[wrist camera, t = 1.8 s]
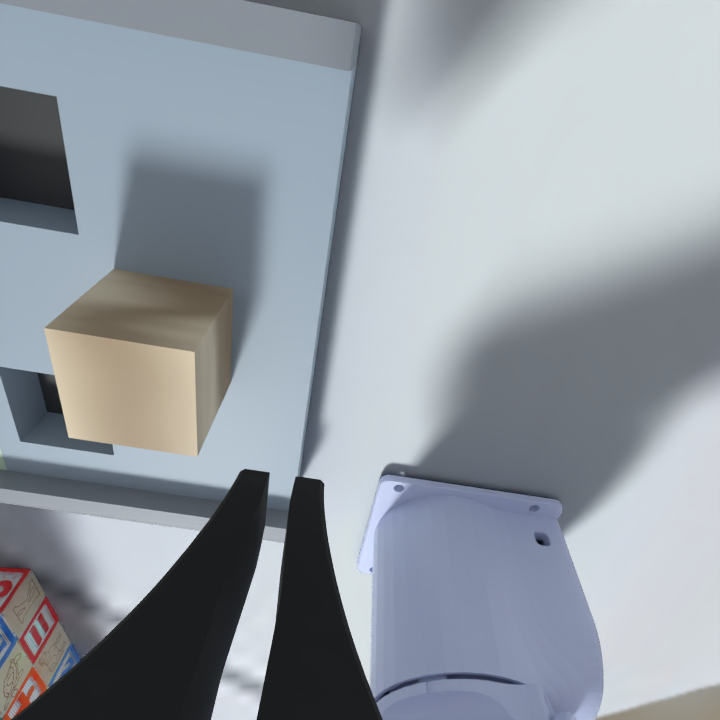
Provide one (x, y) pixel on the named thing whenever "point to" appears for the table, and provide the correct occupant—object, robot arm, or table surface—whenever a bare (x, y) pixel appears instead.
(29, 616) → the stack of blocks
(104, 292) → the maple block
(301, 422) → the box
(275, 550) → the table surface
